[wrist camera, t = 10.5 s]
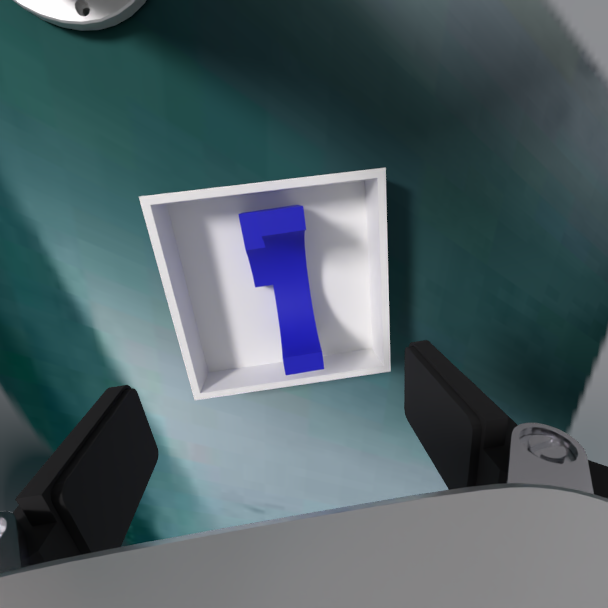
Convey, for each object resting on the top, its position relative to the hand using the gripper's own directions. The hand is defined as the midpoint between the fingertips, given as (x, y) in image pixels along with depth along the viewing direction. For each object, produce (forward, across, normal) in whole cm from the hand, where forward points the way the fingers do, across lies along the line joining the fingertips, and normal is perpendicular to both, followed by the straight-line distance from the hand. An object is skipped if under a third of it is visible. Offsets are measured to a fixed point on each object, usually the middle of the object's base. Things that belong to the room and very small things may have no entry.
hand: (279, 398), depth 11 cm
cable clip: (+18, 0, 0) cm, 18 cm away
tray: (+18, 0, +1) cm, 18 cm away
